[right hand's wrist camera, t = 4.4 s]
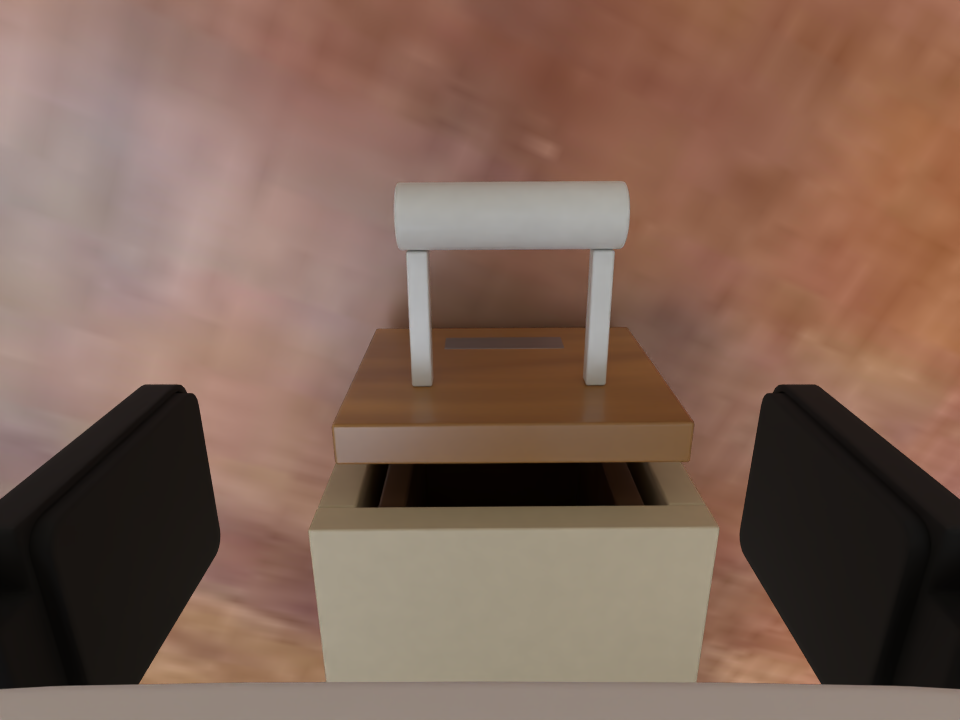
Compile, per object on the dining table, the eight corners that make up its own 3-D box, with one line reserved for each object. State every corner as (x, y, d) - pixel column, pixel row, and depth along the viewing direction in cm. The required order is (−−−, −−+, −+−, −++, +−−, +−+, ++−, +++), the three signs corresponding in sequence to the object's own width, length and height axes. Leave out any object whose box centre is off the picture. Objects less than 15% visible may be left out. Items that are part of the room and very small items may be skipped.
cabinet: (368, 378, 26) (306, 530, 17) (632, 377, 26) (721, 526, 17) (389, 665, 31) (351, 902, 22) (608, 663, 31) (664, 899, 22)
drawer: (365, 167, 22) (308, 194, 15) (640, 165, 22) (725, 192, 15) (395, 617, 29) (366, 793, 22) (604, 615, 29) (649, 790, 22)
